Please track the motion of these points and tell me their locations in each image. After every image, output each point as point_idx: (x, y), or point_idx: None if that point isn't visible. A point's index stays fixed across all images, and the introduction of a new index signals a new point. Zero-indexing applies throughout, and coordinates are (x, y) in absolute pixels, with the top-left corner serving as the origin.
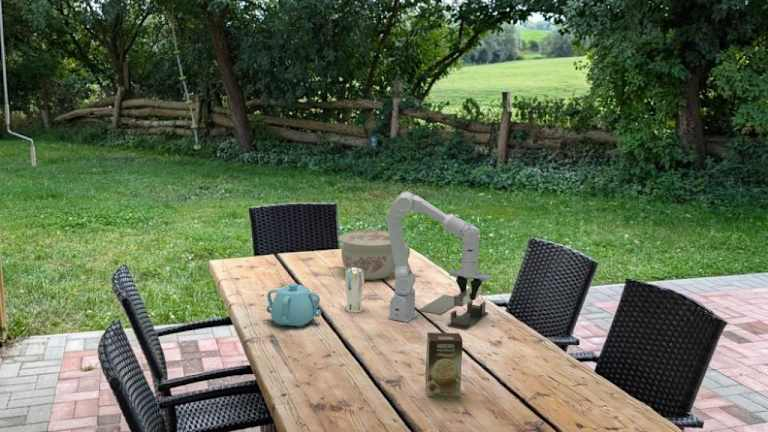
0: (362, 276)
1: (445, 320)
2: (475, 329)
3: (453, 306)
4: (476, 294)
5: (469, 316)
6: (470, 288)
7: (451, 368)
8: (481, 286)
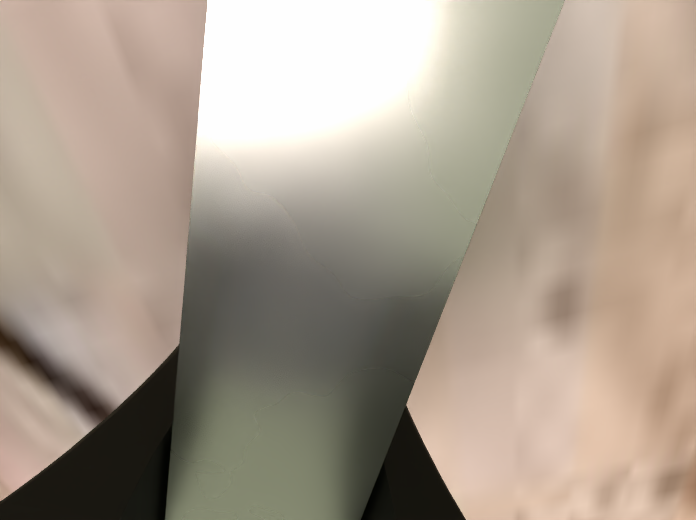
0: None
1: (115, 293)
2: (416, 412)
3: None
4: (417, 430)
5: None
6: (240, 381)
7: None
8: (550, 20)
